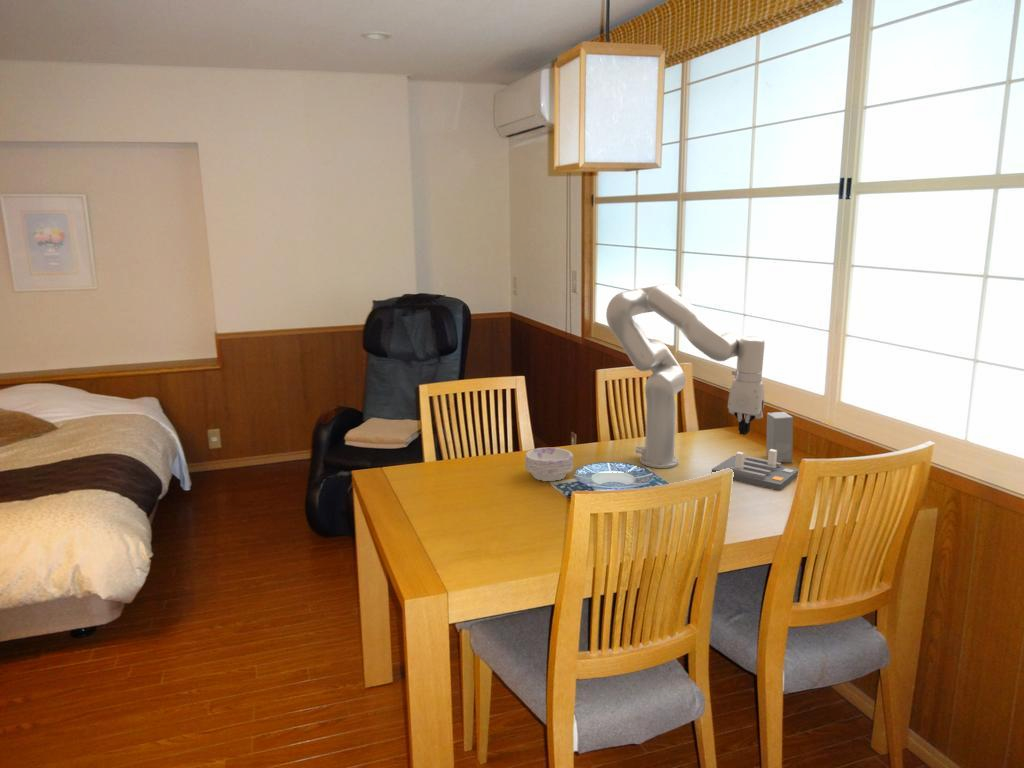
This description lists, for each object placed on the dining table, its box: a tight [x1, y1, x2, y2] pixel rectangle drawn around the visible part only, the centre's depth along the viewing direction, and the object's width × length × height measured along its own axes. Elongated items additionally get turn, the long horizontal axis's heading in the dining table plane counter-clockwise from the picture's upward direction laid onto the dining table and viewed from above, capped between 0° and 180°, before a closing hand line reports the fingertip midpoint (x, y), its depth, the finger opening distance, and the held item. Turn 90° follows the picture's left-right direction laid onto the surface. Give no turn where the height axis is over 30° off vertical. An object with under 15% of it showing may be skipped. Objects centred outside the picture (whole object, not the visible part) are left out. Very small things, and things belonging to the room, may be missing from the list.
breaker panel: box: [711, 455, 800, 492], centre depth 236 cm, size 22×17×3 cm
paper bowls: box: [524, 446, 574, 482], centre depth 236 cm, size 15×15×8 cm
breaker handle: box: [767, 449, 777, 466], centre depth 237 cm, size 2×2×6 cm
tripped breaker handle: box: [735, 451, 746, 469], centre depth 234 cm, size 2×2×6 cm
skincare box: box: [765, 411, 794, 463], centre depth 250 cm, size 8×7×16 cm
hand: (743, 433), depth 232 cm, fingers closed
